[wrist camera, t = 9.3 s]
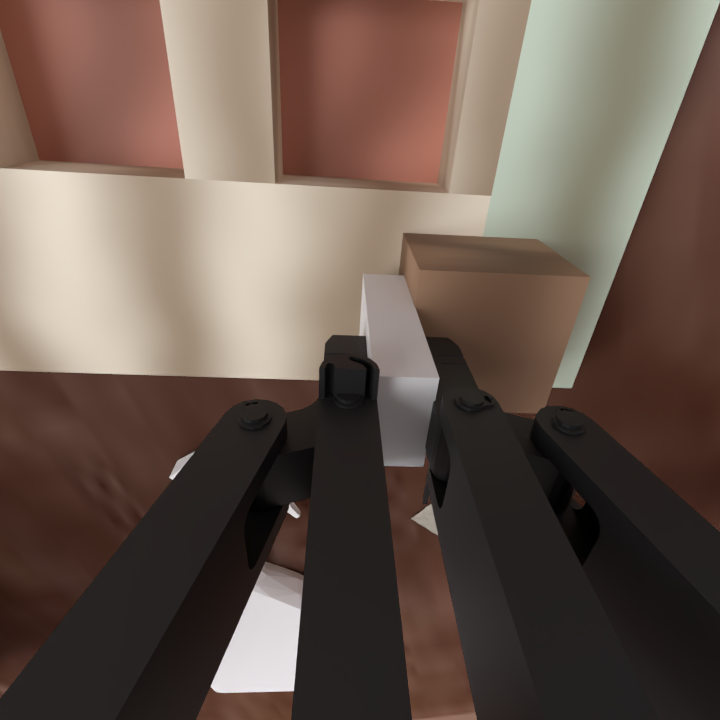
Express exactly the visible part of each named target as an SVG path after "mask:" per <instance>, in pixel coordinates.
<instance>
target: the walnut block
mask: <svg viewBox="0 0 720 720" xmlns="http://www.w3.org/2000/svg"><path fill="white" fill-rule="evenodd" d="M399 275H404V277H405V280H406V283H407V286H408V289H409V292H410V295H411V298H412V301H413V303H414V306H415V308H416V311H417V314H418V317H419V320H420V323H421V326H422V328H423V331H424V334H425V337H444V338H449V339H451V340H452V341H453V342H454V343H455V344H457V345H458V346H459V348H460V350H461V352H462V354H463V358H465V360H466V363H467V366H468V367H469V369H470V371H471V373H472V376H473V378H474V380H475V382H476V384H477V386H478V388H479V389H480V390H483V391H485V392H487V393H489V394H490V395H492V396H493V397H494V398H495V399H496V400H497V401H498V403H499V404H500V406H501V408H502V410H503V412H505V413H538V411H539V410H540V409H541V408H544V407H546V404H547V401H548V398H549V395H550V392H551V389H552V387H553V384H554V381H555V378H556V375H557V372H558V369H559V367H560V364H561V361H562V358H563V355H564V352H565V350H566V347H567V344H568V341H569V338H570V335H571V332H572V330H573V327H574V324H575V321H576V318H577V315H578V312H579V310H580V307H581V304H582V301H583V298H584V295H585V292H586V290H587V287H588V284H589V281H590V278H591V277H590V276H588V275H587V274H586V273H584V272H583V271H581V270H580V269H579V268H577V267H576V266H574V265H573V264H572V263H570V262H569V261H567V260H566V259H564V258H563V257H562V256H560V255H559V254H557V253H556V252H555V251H553V250H552V249H550V248H549V247H548V246H546V245H545V244H543V243H542V242H541V241H539V240H538V239H523V238H502V237H481V236H459V235H438V234H417V233H403V239H402V248H401V257H400V267H399Z"/></svg>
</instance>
